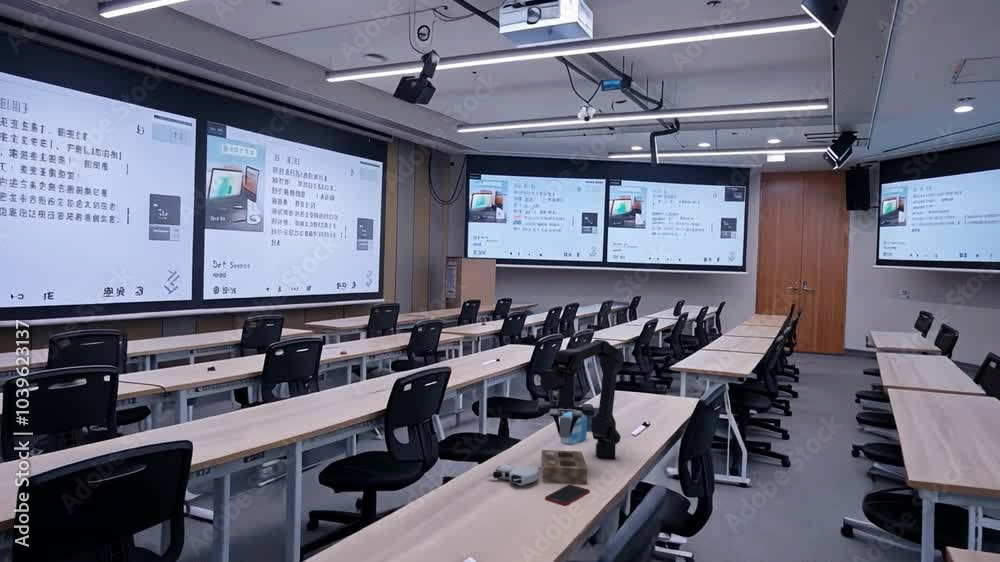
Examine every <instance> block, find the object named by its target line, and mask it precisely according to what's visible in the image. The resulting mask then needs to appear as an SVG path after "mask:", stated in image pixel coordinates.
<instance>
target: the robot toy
mask: <svg viewBox="0 0 1000 562" xmlns="http://www.w3.org/2000/svg"><path fill="white" fill-rule="evenodd" d="M542 469H543V467H542V466H541V467H537V466H532V465H521V466H518V467H516V466H514V465H511V464H502V465H499V466H498V467H496V468H495V471H493V472H488V477H491V478H492V477H493V479H499V478H500V480H504V481H505V480H509V481H510V482H511V483H513V484H516V485H517V486H519V487H522V486H526V484H531V483H533V482H535V481H537V479H538V478H539V477H540V470H542Z"/></svg>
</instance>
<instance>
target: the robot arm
mask: <svg viewBox="0 0 1000 562" xmlns="http://www.w3.org/2000/svg"><path fill="white" fill-rule="evenodd" d="M594 356H596V357H597V358H598V359H599V366H600V368H601V372H602V377H601V378H602V380H601V387H600V398H599V405H598V406H599V407H598V408H599V412H598V414H597V415H596V416H595V417H594V408H595V407H594V405H593V404H591V403H581V404H580V406H578V405H575V396H576V395H575V394H576V392H575V391H576V375H579V374H580V373H581V372H580V371H579V370H578V369H577V368H579V367H580V366H581V365H582V364H583V361H585V360H587V359H589V358H592V357H594ZM624 360H625V356H624V354H623V352H622V351H621V350H619V348H616V347H615V346H614V345H612V344H610V342H609V341H608V340H603V339H594V340H593V341H592V342H589V343H586V344H583V345H581V346H579V347H577V348H566V349H565V348H564V349H560V350H559V351H558V352H557V354H556V355H555V357H554V359H553V361H552V364H551V365H550V367H549V369H545V372H544V374H542V375H541V378H540V381H539V383H540V386H541V389H542V390H543V391H545V392H551V391H552V402H556V404H550V401H539V402H538V403H537V414H549V416H550V417H552V418H553V420H554V423H555V426H556V429H557V433H558V435H559V434H560V416H559V412H566V411H570V412H572V417H571V424H570V435H571V433H572V430H573V428H574V425H575V423H576V422H577V420H578V418H582V415H581V413H583V414H584V415H586V416H593V417H592V425H591V429H592V432H591V433H592V438H593V440H595V441H596V440H597V441H596V443H595V452H594V453H595V456H596V458H597V459H598V460H615V461H617V457H616V445H618V444H619V443H620V441H621V437H622V436H621V434H620V433H619V432H618V430H617V427H616V426H617V425H616V424H617V423H616V420H615V417H614V415H613V413H614V412H613V410H614V402H615V393H616V386H617V385H616V384H617V376H618V374H619V373H620V372H621V370H622V368H623V365H624ZM568 408H571V409H568Z"/></svg>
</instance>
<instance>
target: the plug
mask: <svg viewBox="0 0 1000 562" xmlns="http://www.w3.org/2000/svg"><path fill="white" fill-rule="evenodd" d="M570 421H571V420H570V418H567V417H562V416H561V417H560V416H559V425H560V434H558V436H559V438H560V444H565V443H568V438H570Z"/></svg>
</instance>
